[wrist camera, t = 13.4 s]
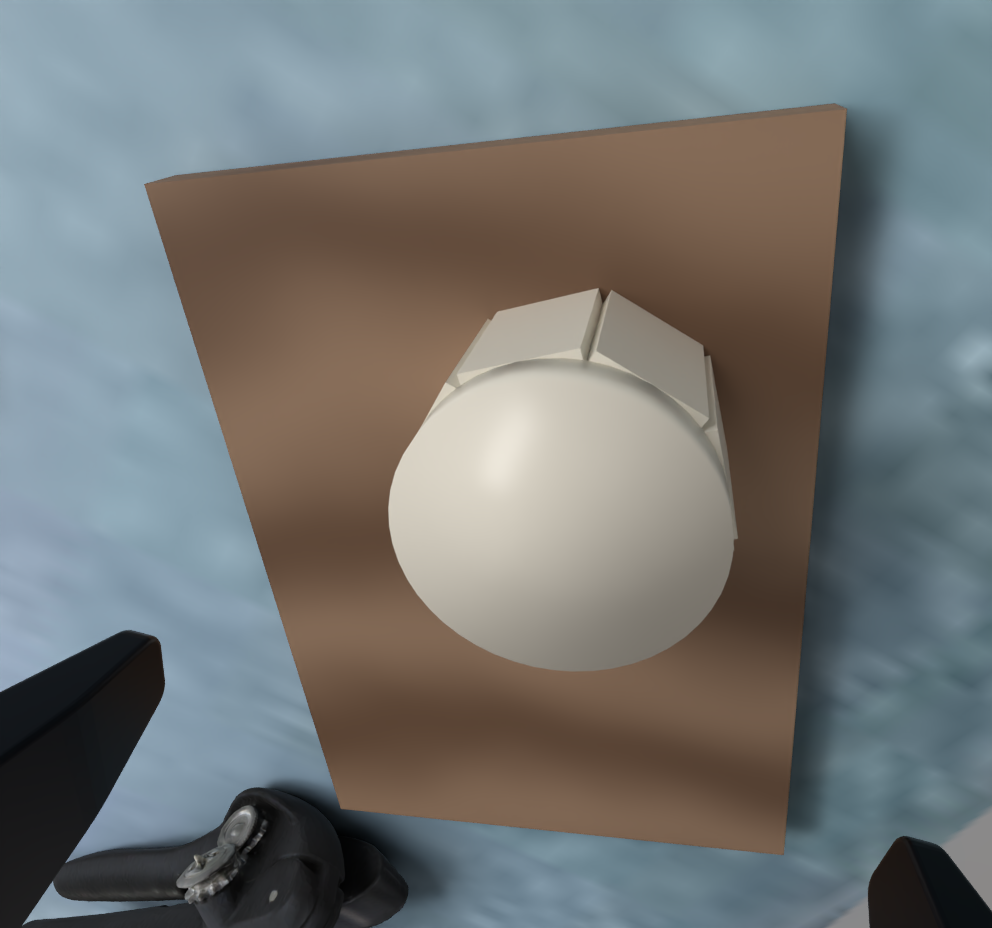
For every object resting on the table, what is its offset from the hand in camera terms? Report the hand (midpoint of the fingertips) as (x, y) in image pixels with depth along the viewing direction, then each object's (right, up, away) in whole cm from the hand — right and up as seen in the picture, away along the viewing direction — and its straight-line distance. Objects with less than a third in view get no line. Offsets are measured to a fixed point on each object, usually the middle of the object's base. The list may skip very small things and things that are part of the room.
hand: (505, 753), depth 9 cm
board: (+1, +1, +11) cm, 11 cm away
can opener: (-12, -12, +22) cm, 28 cm away
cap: (+2, +4, +8) cm, 9 cm away
